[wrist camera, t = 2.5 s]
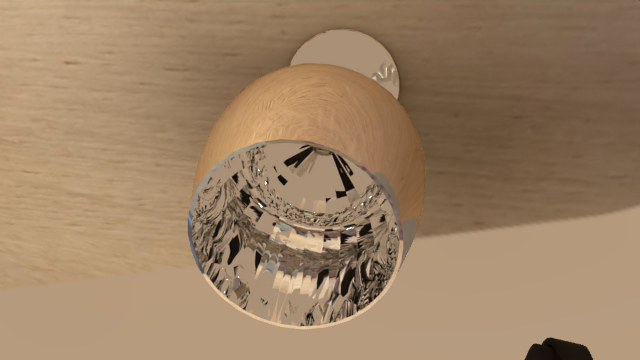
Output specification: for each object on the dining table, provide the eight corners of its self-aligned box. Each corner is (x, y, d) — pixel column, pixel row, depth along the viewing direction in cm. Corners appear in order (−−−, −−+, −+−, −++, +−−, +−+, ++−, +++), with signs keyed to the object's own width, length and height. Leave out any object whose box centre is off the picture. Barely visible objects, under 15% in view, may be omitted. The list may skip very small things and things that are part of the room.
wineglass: (364, 179, 25) (337, 387, 14) (244, 106, 25) (121, 268, 14) (447, 64, 23) (489, 210, 12) (317, -20, 22) (238, 54, 11)
